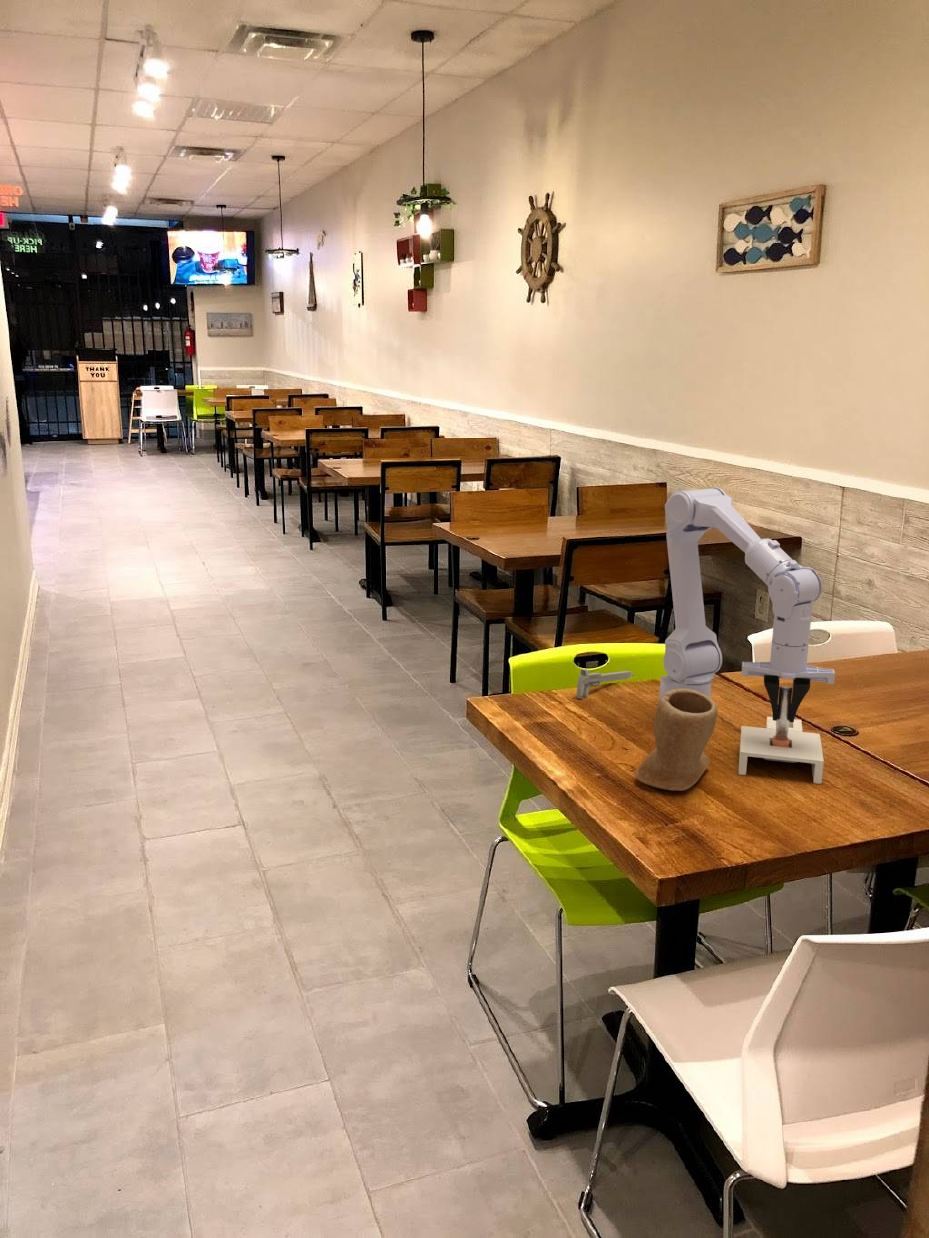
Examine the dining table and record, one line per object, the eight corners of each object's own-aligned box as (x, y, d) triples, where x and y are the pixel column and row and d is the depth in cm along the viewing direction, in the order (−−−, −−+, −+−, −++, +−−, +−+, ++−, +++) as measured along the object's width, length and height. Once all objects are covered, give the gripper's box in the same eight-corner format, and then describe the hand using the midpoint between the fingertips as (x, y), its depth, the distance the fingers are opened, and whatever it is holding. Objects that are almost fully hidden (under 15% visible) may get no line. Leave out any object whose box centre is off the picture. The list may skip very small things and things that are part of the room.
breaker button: (764, 759, 162) (766, 742, 161) (764, 748, 166) (766, 731, 165) (794, 763, 160) (796, 745, 159) (794, 751, 165) (795, 734, 164)
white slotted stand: (738, 774, 160) (740, 751, 159) (739, 746, 171) (741, 725, 170) (821, 783, 156) (823, 761, 155) (817, 755, 167) (819, 733, 166)
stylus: (775, 739, 162) (779, 689, 159) (775, 735, 163) (779, 685, 161) (787, 741, 161) (792, 690, 159) (787, 736, 163) (792, 686, 160)
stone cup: (698, 803, 149) (704, 713, 145) (626, 786, 156) (630, 699, 152) (727, 769, 162) (734, 685, 158) (660, 754, 168) (664, 672, 164)
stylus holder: (766, 741, 173) (767, 728, 173) (765, 729, 179) (767, 716, 178) (801, 744, 172) (802, 731, 171) (800, 732, 177) (801, 719, 177)
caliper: (580, 701, 194) (582, 672, 192) (576, 700, 195) (577, 671, 193) (633, 676, 209) (635, 648, 207) (629, 675, 209) (630, 647, 208)
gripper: (743, 645, 156) (737, 723, 160) (839, 652, 152) (830, 732, 156) (744, 633, 163) (738, 708, 166) (836, 640, 159) (827, 717, 162)
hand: (783, 719), depth 161 cm, fingers closed on stylus, 2 cm apart
